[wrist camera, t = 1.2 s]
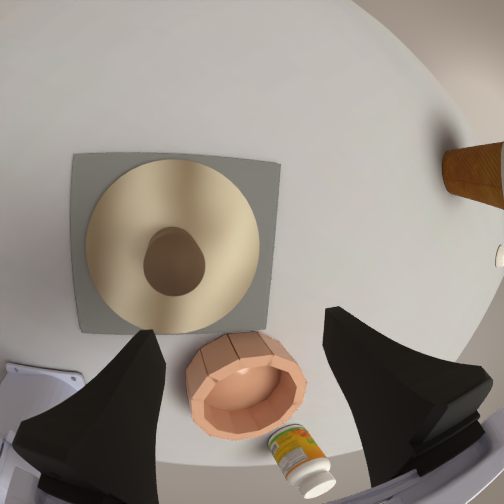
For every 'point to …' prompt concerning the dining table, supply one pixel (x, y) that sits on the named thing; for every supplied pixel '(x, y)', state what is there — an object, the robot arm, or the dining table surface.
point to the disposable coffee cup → (476, 173)
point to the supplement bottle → (301, 460)
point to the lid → (172, 246)
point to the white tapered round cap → (500, 257)
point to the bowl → (243, 386)
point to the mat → (117, 164)
